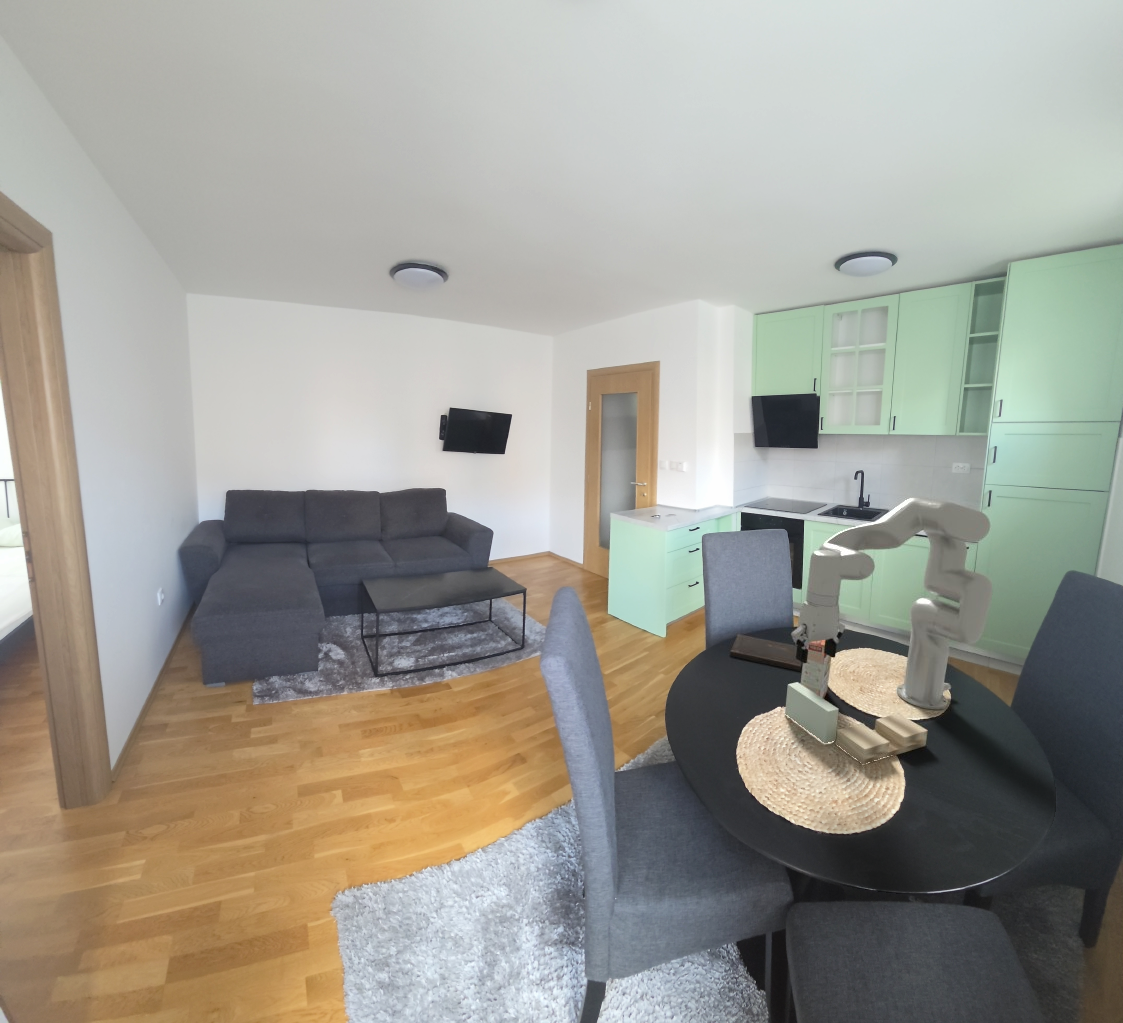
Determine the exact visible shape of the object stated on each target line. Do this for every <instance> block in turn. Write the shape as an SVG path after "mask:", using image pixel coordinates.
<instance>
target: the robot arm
mask: <svg viewBox="0 0 1123 1023" xmlns="http://www.w3.org/2000/svg"><path fill="white" fill-rule="evenodd" d="M990 521H991V520H990V519H989V517H988V516H987V515H986V514H985V513H984V512H983V511H980V510H977V509H973V508H969V507H966V506H963V505H961V504H957V503H955V502H949V501H944V500H939V499H933V498H928V497H926V498H925V497H918V496H917V497H909V498H908V499H906V500H904V501H903V502H901V503H900V504H898V505H897V506H896V507H895V508H894V507H893V509H892V510H889V512H887V513H886V514H885V515H883V516H882V517H881V518H879V519H878V520H876V521H874V522H871V523H870V522H869V523H866V524H862V525H858V526H855V527H850V528H847V529H844V530H843V531H840V532H837V533H836V534H834V535H833V536H831V537H830V538H829V539H827V540H826V541H825V542H824V543H823V544H821V546H819V548H818V549H817V550H815V551H813V552H812V553H811V555H810V560H809V568H808V578H807V579H808V580H807V589H806V597H805V601H803V603H802V605H801V608H800V611H799V615H798V616H799V617H798V621H797V627H796V628H795V629H794V630H792V632H791V638H792V642H793V643H794V644H795V646H797V652H796V659H798V660H799V661H801V662H802V664H803V663H807V658H808V649H806V648H807V647H808V646H809V644H810V643H811V642H815V641H821V640H825V647H824V653H825V654H827V655H829V656H831V659H832V658H833V659H834V658H836V654H837V645H838V644H839V642H840V640H839V639H841V637H842V636H843V633H844V631H845V628H846V625H845V624H843V623H841V622H840V604H839V601H840V595H841V594H840V593H841V584H842V581H843V580H844V581H846V580H847V581H862V580H863V581H864V580H865V579H867V578H869V577H871V575H873V572H875V568H876V566H875V561H874V559H873V557H871V556H870V555H869V554H867V553H865V552H863V551H866V550H892V549H893V550H894V549H897V548H899V547H901V546H903V545H904V544H905V543H906V542H908V541H909V540H910V539H912V538H914V537H915V536H916V535H917V534H919V533H920V532H921V531H923V532H924V533H925V534H926V536H927V538H928V541H929V552H928V553H929V554H928V559H927V562H926V568H925V571H924V577H923V587H924V589H925V590H926V592H928V593H930V594H932V595H934V596H938V597H939V598H943V599H946V600H949V601H951V602H954V603H955V602H956V603H957V604H959V605H954V604H951V603H948V602H946V601H943V600H940V599H937V598H932V597H920V598H918V599H916V600H915V601H913V603H912V605H911V606H910V610H909V619H910V638H909V639H910V640H909V646H908V651H907V652H908V654H907V660H906V668H905V675H904V681H903V684H899V685H898V686H897V687H896V693H897V696H899V697H900V698H901V699H902V700H903V701H906V702H907V703H909V704H912V705H914V706H915V707H919V708H923V709H928V710H943V709H945V708H946V707H947V706H948V700H947V698H946V696H945V695H944V692H945V691H947V690H951V688H952V685H951V684H950V683H948V682H945V679H946V671H947V665H948V658H949V654H950V646H949V642H948V640H950V641H953V642H956V643H958V644H962V645H966V646H967V645H968V646H971V645H974V644H976V643H977V642H978V641H979V640H980V638H981V637H982V635H983V633H984V630H985V626H986V623H987V618H988V613H989V610H990V605H991V601H992V597H993V585H992V581H991V580H990V579H989V578H988V577H987V576H985V575H984V574H982V573H979V572H977V571H972V570H968V569H966V561H967V555H968V547H967V544H966V543H967V542H968V543H977V542H980V541H982V540H983V539H985V538H986V537H987V536H988V534H989V532H990V530H991V522H990ZM804 640H805V642H803V641H804Z"/></svg>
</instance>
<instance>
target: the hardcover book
mask: <svg viewBox="0 0 1123 1023" xmlns="http://www.w3.org/2000/svg"><path fill="white" fill-rule="evenodd" d="M796 652H797V645H794V644H789V643H783V642H779V641H778V642H777V641H774V640H768V639H763V638H759V637H754V636H753V637H752V636H748V635H743V634H738V633H737V635H736V637H735V639H734V642H733V644H732V647H731V649H730V651H729V656H730V657H733V658H738V659H741V660H747V661H752V662H756V663H759V664H765V665H769V666H770V665H771V666H773V667H778V668H784V669H788V670H793V671H798V672H802V664H803V662H801V661H799V660H798V659H796Z"/></svg>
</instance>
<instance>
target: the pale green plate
mask: <svg viewBox="0 0 1123 1023" xmlns="http://www.w3.org/2000/svg"><path fill="white" fill-rule="evenodd" d="M785 701H786V702H785V713H784V715H785V714H786V715H788V716H789V717H790V718H792V719H793V720H794V721H796V722H797V723H798V724H799V725H801V726H802V727H804V728H805V729H806V730H808V731H809V732H810V733H812V734H813V735H815V736H816V737H817V738H819V739H820V740H821V741H822V742H824V743H828V742H832V741H834V740H835V741H836V737H837V727H838V717H839V712H840V711H839V708H838V707H836V706H835V705H833V703H830V702H829V701H827V700H825V698H824V699H823V698H821V697H820V696H818V695H816V694H815V693H813V692H812V691H810V690H809V689H807V688H806V687H804V686H803V685H801V682H798V681H797V682H793V683H789V684H787V691H786V699H785Z"/></svg>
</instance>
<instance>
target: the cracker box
mask: <svg viewBox="0 0 1123 1023" xmlns="http://www.w3.org/2000/svg"><path fill="white" fill-rule="evenodd" d="M824 647H825V640H821V641H815V642H811V643H810V644H809V646H808V647H807V648H806V649H808V658H807V663H803V662H802V666H801V675H800V676H801V678H800V684H801V685H803V686H804V687H806V688H807V689H809V690H810V691H812V692H813V693H815V694H816V695H818V696H820V697H821V698H823V699H824V700H825V698H826V697H825V696H826V695H827V692H828V688H829V680H830V671H831V670H830V669H831V664H832V657H831V656H829V655H827V654H825V653H824Z"/></svg>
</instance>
